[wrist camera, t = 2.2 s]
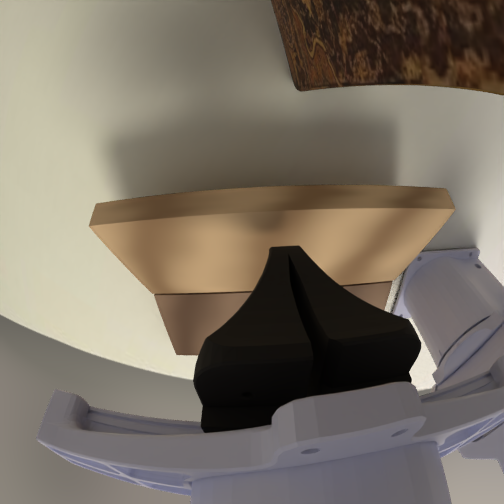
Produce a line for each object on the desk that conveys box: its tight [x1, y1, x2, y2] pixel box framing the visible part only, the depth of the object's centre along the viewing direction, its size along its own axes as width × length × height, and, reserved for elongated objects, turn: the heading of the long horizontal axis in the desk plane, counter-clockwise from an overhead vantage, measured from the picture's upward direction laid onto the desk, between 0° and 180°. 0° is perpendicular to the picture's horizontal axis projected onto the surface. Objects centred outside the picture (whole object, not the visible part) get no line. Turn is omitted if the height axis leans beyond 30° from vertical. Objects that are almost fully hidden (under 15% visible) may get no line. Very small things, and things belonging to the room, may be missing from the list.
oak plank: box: [89, 185, 456, 294], centre depth 17 cm, size 20×10×2 cm
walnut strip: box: [154, 281, 392, 355], centre depth 24 cm, size 20×8×2 cm, turn 93°
